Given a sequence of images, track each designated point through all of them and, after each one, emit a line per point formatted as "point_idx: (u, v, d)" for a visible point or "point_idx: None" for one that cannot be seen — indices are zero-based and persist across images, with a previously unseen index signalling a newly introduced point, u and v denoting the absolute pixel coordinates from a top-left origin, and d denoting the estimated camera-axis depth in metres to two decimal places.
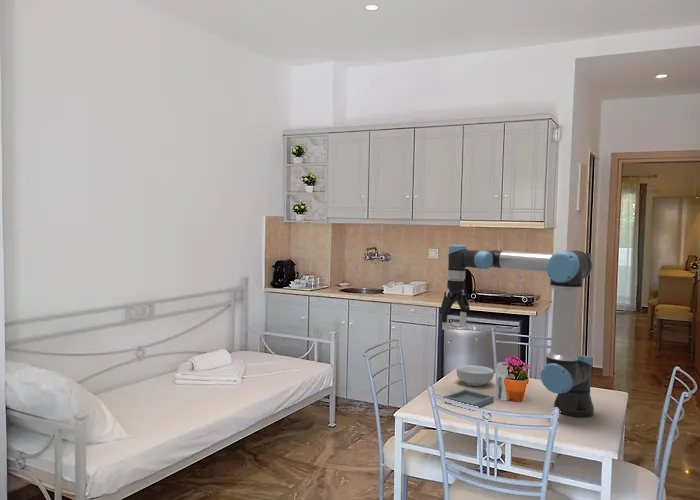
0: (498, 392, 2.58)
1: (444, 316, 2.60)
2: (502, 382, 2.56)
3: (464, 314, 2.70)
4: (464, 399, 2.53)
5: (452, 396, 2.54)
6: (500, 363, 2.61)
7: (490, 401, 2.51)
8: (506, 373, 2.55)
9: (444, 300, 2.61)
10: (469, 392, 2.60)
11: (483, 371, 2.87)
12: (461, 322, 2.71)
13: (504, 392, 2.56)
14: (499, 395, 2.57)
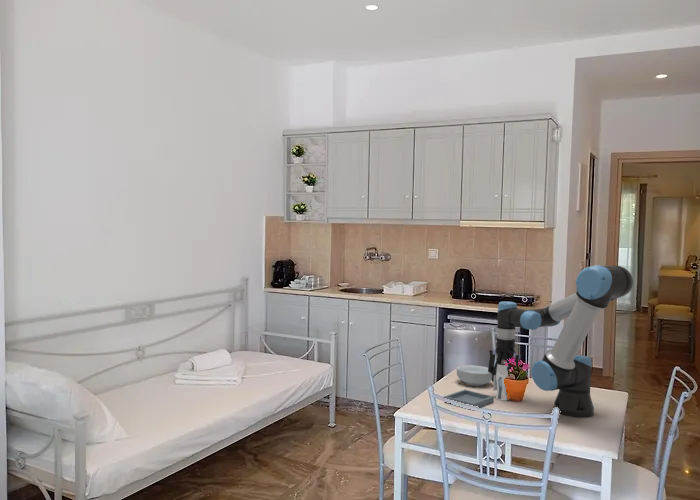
0: (498, 392, 2.58)
1: None
2: (502, 382, 2.56)
3: None
4: (464, 399, 2.53)
5: (452, 396, 2.54)
6: None
7: (490, 401, 2.51)
8: (506, 373, 2.55)
9: None
10: (469, 392, 2.60)
11: (483, 371, 2.87)
12: None
13: (504, 392, 2.56)
14: (499, 395, 2.57)
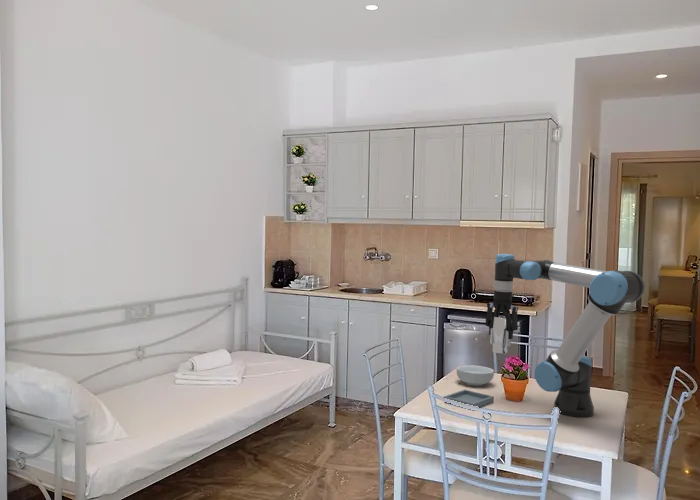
0: (495, 344, 2.56)
1: None
2: (499, 335, 2.54)
3: None
4: (464, 399, 2.53)
5: (452, 396, 2.54)
6: None
7: (490, 401, 2.51)
8: (503, 325, 2.53)
9: None
10: (469, 392, 2.60)
11: (483, 371, 2.87)
12: None
13: (501, 345, 2.55)
14: (496, 348, 2.56)
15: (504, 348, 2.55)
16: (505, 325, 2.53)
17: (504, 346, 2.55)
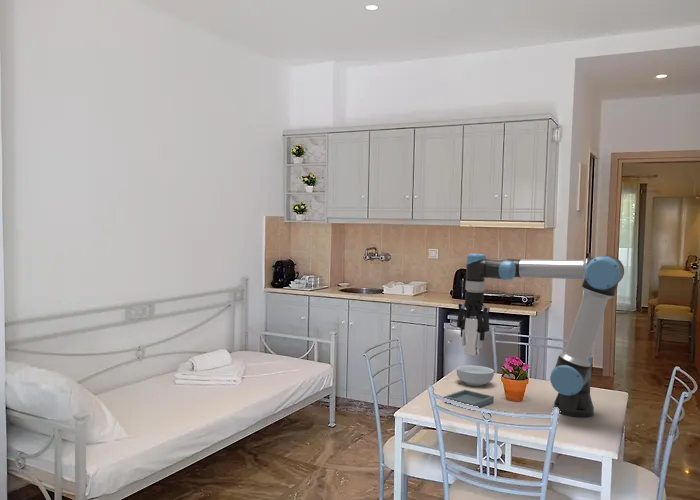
0: (466, 346, 2.51)
1: None
2: (470, 336, 2.49)
3: None
4: (464, 399, 2.53)
5: (452, 396, 2.54)
6: None
7: (490, 401, 2.51)
8: (474, 326, 2.48)
9: None
10: (469, 392, 2.60)
11: (483, 371, 2.87)
12: None
13: (472, 347, 2.49)
14: (467, 349, 2.50)
15: (476, 350, 2.49)
16: (476, 326, 2.48)
17: (476, 348, 2.49)
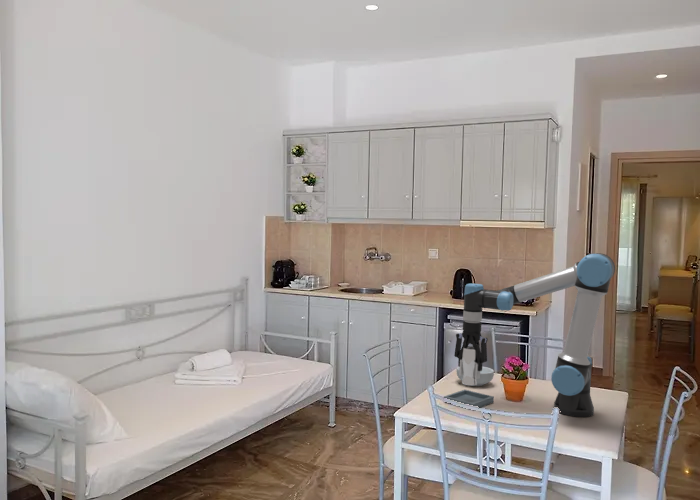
0: (464, 376, 2.50)
1: None
2: (468, 367, 2.48)
3: None
4: (464, 399, 2.53)
5: (452, 396, 2.54)
6: (467, 347, 2.54)
7: (490, 401, 2.51)
8: (472, 357, 2.48)
9: None
10: (469, 392, 2.60)
11: (483, 371, 2.87)
12: None
13: (470, 377, 2.49)
14: (465, 380, 2.50)
15: (473, 380, 2.49)
16: (474, 357, 2.48)
17: (473, 378, 2.49)
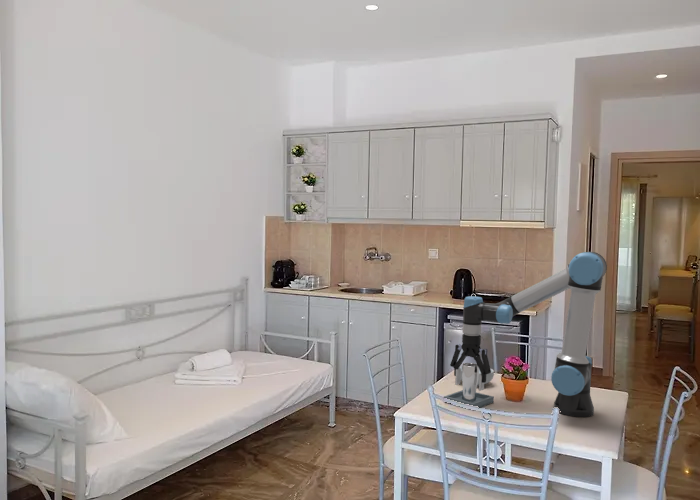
0: (464, 393, 2.51)
1: None
2: (468, 384, 2.49)
3: None
4: None
5: (452, 396, 2.54)
6: (466, 364, 2.54)
7: (490, 401, 2.51)
8: (472, 374, 2.48)
9: None
10: None
11: None
12: None
13: (470, 394, 2.49)
14: (465, 397, 2.50)
15: (473, 397, 2.49)
16: (474, 374, 2.48)
17: (473, 395, 2.49)
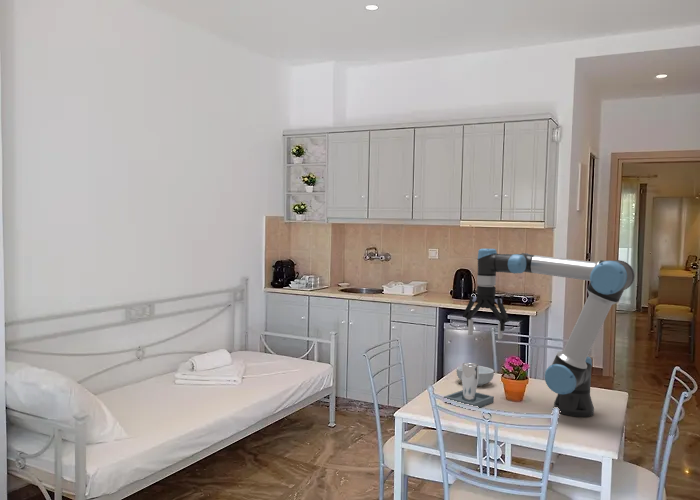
0: (463, 393, 2.51)
1: None
2: (468, 384, 2.49)
3: None
4: None
5: (452, 396, 2.54)
6: (466, 364, 2.54)
7: (490, 401, 2.51)
8: (472, 374, 2.48)
9: None
10: None
11: (483, 371, 2.87)
12: None
13: (470, 394, 2.49)
14: (465, 397, 2.50)
15: (473, 397, 2.49)
16: (474, 374, 2.48)
17: (473, 395, 2.49)
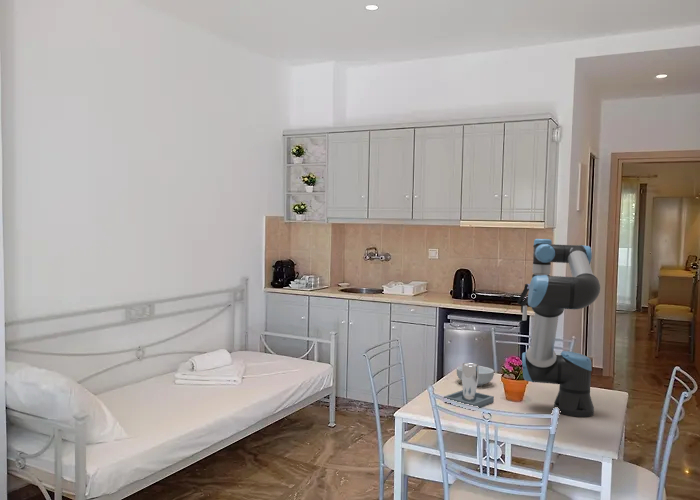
0: (463, 393, 2.51)
1: None
2: (468, 384, 2.49)
3: None
4: None
5: (452, 396, 2.54)
6: (466, 364, 2.54)
7: (490, 401, 2.51)
8: (472, 374, 2.48)
9: None
10: None
11: (483, 371, 2.87)
12: None
13: (470, 394, 2.49)
14: (465, 397, 2.50)
15: (473, 397, 2.49)
16: (474, 374, 2.48)
17: (473, 395, 2.49)
